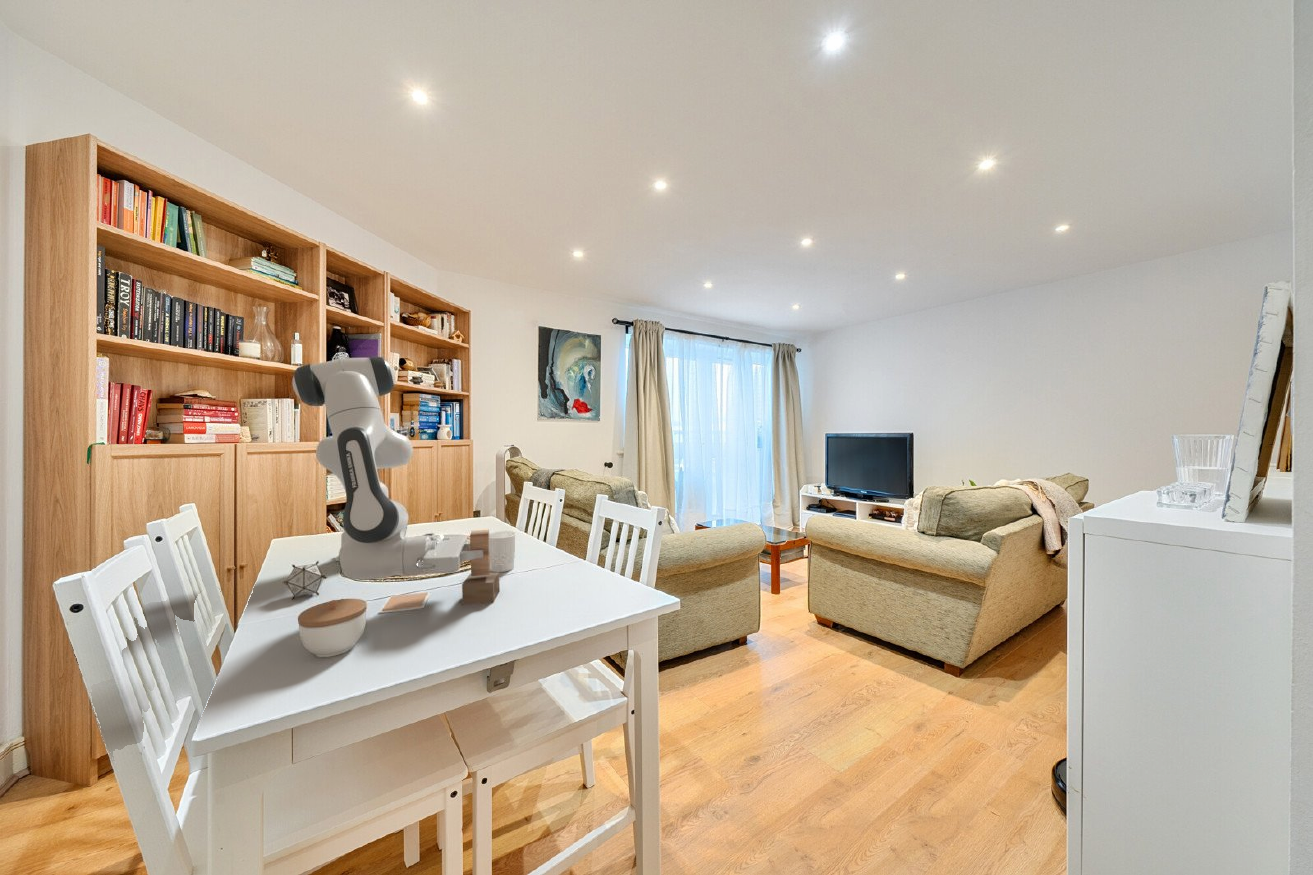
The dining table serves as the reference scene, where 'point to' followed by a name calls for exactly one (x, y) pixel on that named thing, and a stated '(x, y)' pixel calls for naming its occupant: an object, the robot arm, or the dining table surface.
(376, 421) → the robot arm
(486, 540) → the cherry post
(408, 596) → the swatch tile
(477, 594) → the walnut block
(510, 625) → the dining table surface
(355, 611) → the lidded jar
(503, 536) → the white cup
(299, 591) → the grey icosahedron model
